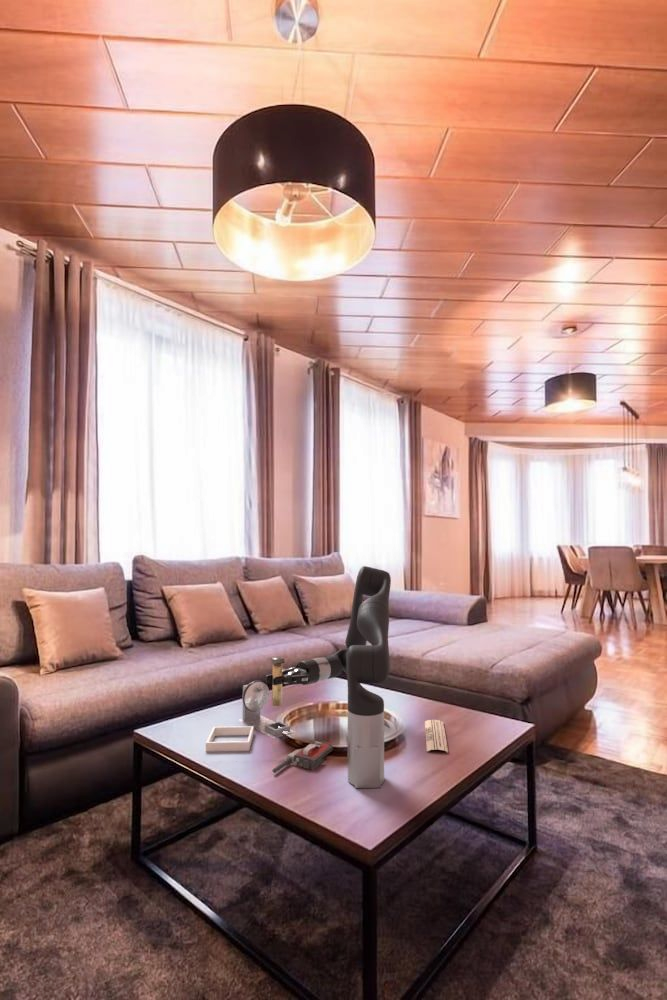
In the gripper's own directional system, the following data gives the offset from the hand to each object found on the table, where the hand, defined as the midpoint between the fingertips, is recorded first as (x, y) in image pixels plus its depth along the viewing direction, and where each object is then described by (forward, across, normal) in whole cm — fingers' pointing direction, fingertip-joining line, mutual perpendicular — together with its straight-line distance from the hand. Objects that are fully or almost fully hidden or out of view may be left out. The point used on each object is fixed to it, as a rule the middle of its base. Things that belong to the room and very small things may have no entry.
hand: (269, 680), depth 162 cm
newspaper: (-38, +32, +18) cm, 53 cm away
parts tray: (+12, -2, +17) cm, 21 cm away
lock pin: (-3, 0, +8) cm, 8 cm away
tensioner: (-3, -6, +17) cm, 18 cm away
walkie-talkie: (+3, +20, +18) cm, 27 cm away
